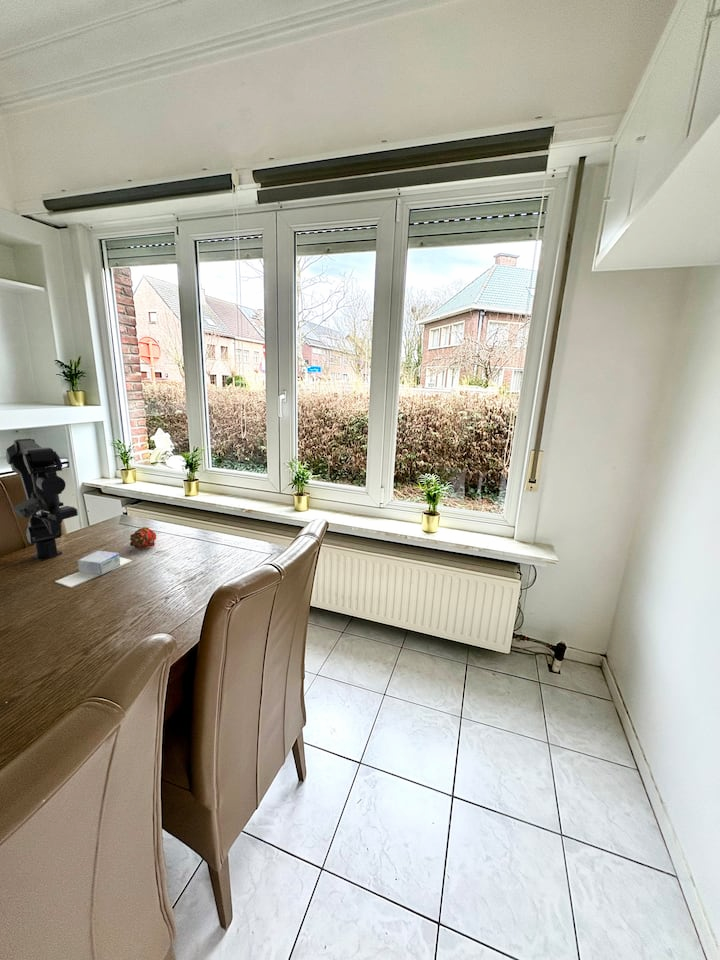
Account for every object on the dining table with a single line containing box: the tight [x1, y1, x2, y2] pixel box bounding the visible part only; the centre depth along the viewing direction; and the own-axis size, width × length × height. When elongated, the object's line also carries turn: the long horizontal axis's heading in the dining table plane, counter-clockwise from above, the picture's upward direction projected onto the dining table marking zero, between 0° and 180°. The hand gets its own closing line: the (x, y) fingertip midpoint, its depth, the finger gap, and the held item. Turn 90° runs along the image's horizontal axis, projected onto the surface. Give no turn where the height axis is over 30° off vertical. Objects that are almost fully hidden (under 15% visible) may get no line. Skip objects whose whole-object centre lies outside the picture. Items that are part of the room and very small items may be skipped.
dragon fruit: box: [129, 526, 157, 551], centre depth 143 cm, size 8×8×12 cm
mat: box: [54, 556, 133, 589], centre depth 125 cm, size 8×20×1 cm, turn 157°
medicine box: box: [77, 550, 121, 576], centre depth 125 cm, size 8×4×9 cm
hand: (53, 534), depth 123 cm, fingers closed
